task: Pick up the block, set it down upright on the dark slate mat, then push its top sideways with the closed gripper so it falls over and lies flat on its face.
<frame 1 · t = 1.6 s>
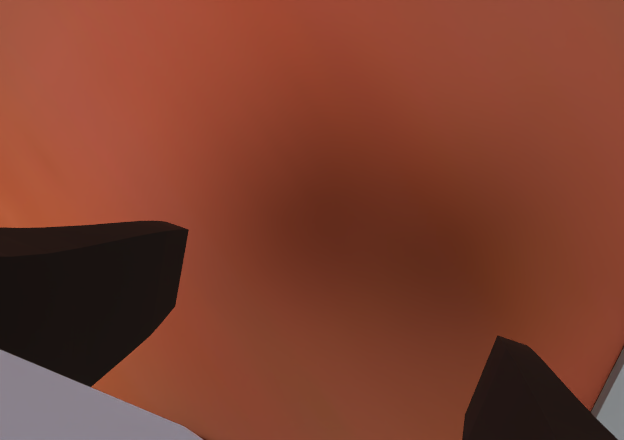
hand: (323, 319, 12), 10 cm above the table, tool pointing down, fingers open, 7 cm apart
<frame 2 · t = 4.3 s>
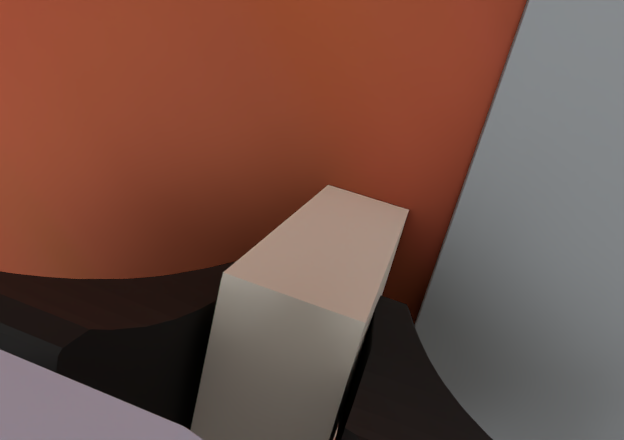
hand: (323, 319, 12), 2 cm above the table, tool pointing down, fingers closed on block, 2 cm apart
block: (341, 289, 13), on the table, touching gripper
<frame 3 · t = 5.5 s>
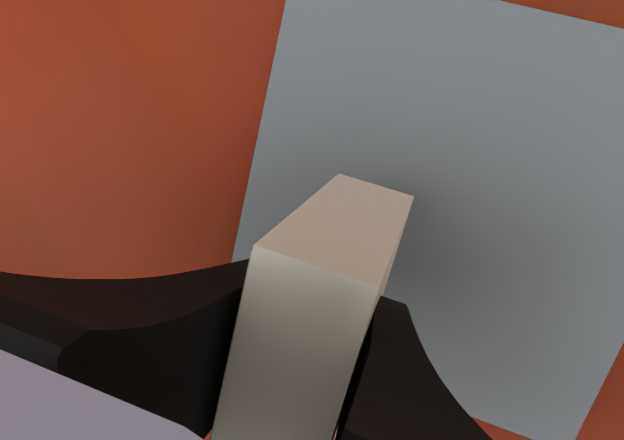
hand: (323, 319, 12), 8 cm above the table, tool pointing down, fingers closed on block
mat: (439, 212, 19), on the table
block: (350, 271, 14), point 5 cm above the table, touching gripper
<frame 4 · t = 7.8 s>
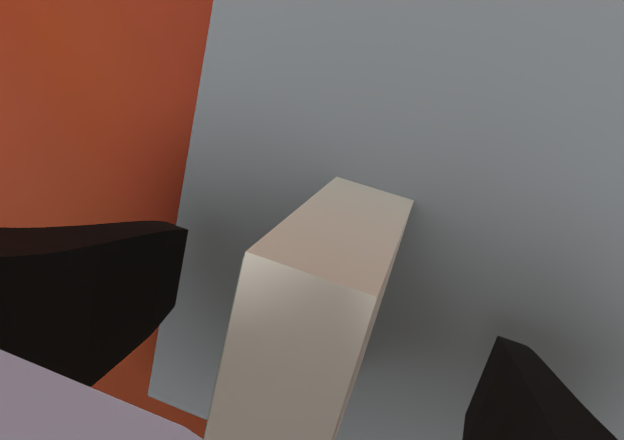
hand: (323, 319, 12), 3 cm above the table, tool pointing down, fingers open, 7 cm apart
mat: (432, 262, 14), on the table
block: (348, 277, 14), point 1 cm above the table, touching mat
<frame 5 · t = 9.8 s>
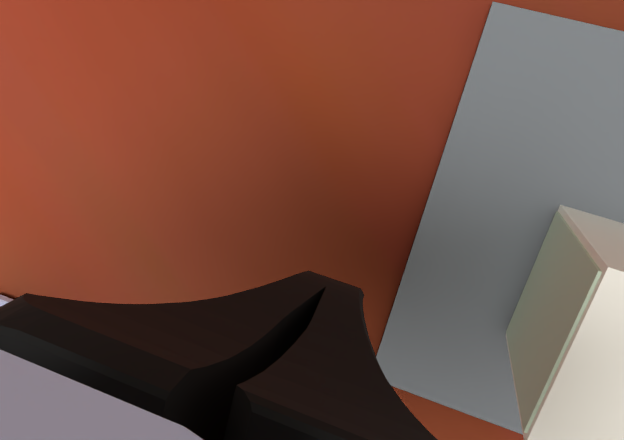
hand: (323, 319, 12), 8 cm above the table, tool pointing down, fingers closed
block: (561, 282, 18), point 1 cm above the table, touching mat
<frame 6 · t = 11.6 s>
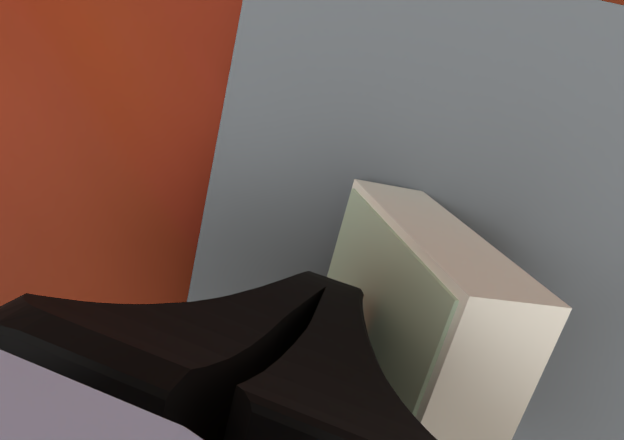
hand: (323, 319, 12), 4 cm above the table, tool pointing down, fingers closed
mat: (439, 248, 15), on the table
block: (363, 269, 15), point 1 cm above the table, tilted 29°, touching mat
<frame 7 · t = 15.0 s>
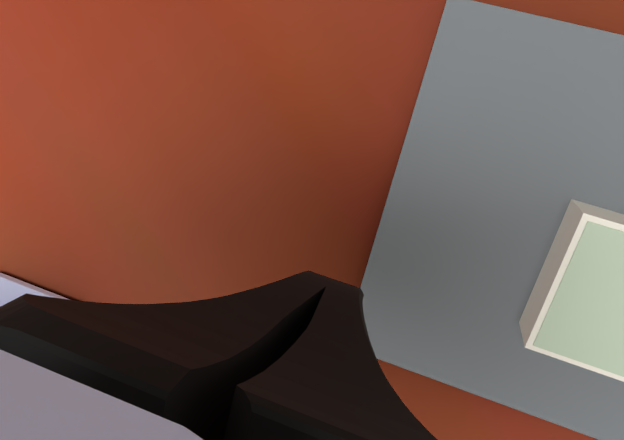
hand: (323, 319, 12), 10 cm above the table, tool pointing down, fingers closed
mat: (576, 243, 19), on the table
block: (548, 272, 18), point 2 cm above the table, tilted 90°, touching mat
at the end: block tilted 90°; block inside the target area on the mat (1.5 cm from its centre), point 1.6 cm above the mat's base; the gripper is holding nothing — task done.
